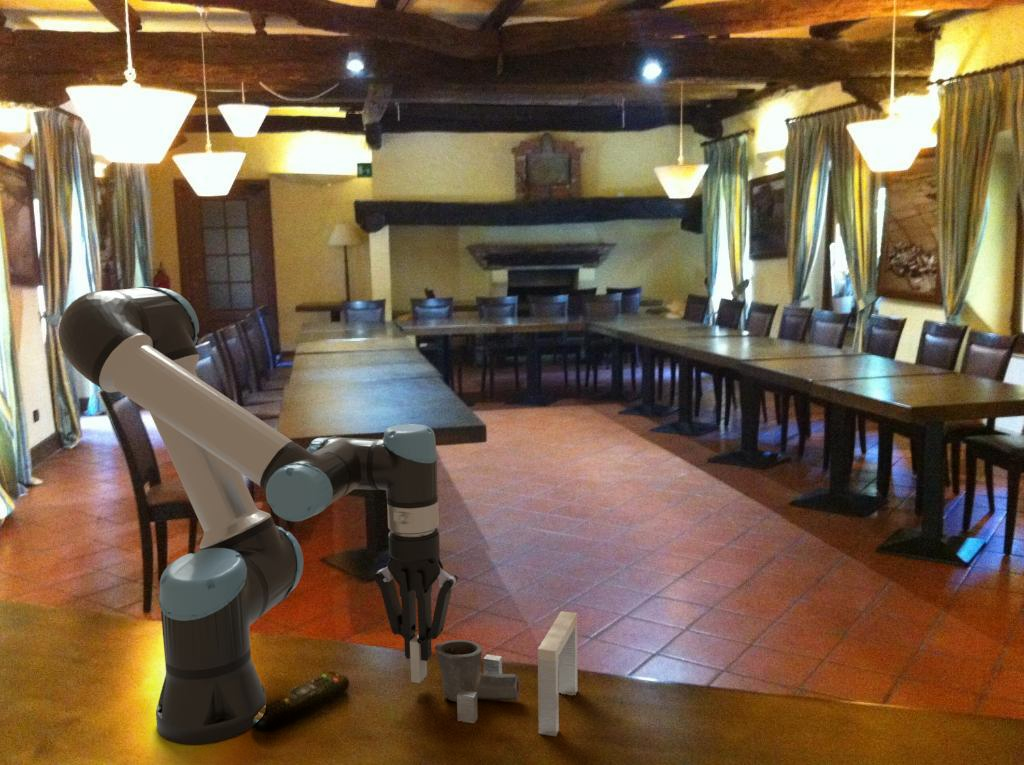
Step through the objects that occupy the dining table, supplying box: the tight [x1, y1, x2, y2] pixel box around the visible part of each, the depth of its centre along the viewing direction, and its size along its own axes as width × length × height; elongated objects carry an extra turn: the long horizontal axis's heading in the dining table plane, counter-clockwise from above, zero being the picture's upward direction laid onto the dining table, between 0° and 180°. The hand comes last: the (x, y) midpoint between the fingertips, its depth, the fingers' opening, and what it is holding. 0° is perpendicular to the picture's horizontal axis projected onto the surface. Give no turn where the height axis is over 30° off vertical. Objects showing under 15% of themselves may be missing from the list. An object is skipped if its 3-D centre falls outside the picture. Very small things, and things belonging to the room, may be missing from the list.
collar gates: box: [456, 610, 578, 737], centre depth 129 cm, size 14×13×12 cm
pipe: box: [434, 639, 521, 703], centre depth 131 cm, size 6×13×8 cm, turn 79°
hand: (419, 678), depth 134 cm, fingers closed
